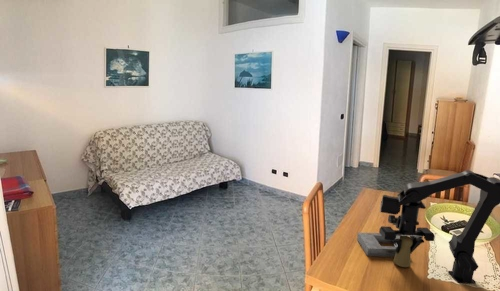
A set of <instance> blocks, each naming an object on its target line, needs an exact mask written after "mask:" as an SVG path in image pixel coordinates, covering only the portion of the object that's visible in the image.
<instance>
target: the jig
mask: <svg viewBox="0 0 500 291" xmlns="http://www.w3.org/2000/svg"><path fill="white" fill-rule="evenodd" d="M356 236H357V237H356V240H357V242H358V244H359V245H360V247H361V248H362V250H363V252H364V253H365V255H366V256H367V257H385V258H386V257H387V258H394V257H395V254H396V249H395V245H394V241H393V240H386V239H384V238H383V236H382V235H381V234H380V233H377V232H357V235H356ZM380 243H381V244H392V245H393V246H389V245H387V246H386V245H385V246H384V245H381V244H380Z"/></svg>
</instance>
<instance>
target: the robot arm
mask: <svg viewBox="0 0 500 291" xmlns="http://www.w3.org/2000/svg"><path fill="white" fill-rule="evenodd" d="M467 185H471V186H474V187H475V188H477V189H479V191H480V192H479V201H478V202H477V204H476V206H475V208H474V209H473V211H472V213H471V215H470V216H469V218H468V221H467V222H466V225H465V226H464V228H463V230H462V232H460V234H458V235H457V234H455V233H453V234H452V236H451V239H450V240H449V241H448V244H449V246H448V247H449V250H450V252H451V254H452V256H453V258H454V261H453V264H452V270H448V271H447V273H448V274H449V275H450V276H451V278H453V280H455V281H456V282H457V283H459V284H476V283H477V282H476V280H475V279H474V278H473V277H474V273H475V272H476V271H477V269H478V268H479V265H478V263H477V261H476V260H475V258H474V254H475V244H476V240H477V239H478V237H479V235H480V234H481V231H482V230H483V229H484V227H485V225H486V223H487V221H488V219H489V217H490V216H491V214H492V212H493V211H494V209H495V208H496V207H497V206H499V205H500V178H498V177H487V176H486V175H483V174H479V173H476V172H474V171H472V170H470V169H467V170H466V169H465V170H464V171H462V172H458V173H454V174H451V175H448V176H443V177H441V178H436V179H433V180H430V181H415V182H414V181H413V182H408V183H406V184H405V185H404V187H403V190H401V191H400V192H399V193H398V194H397V195H396V196H392V195H387V194H382V198H381V200H380V207H379V208H380V209H379V212H380V213H383V214H388V218H387V222H388V223H389V224H392V226H395V228H396V229H398V230H396V229H394V228H392V227H391V226H381V227H380V228H379V231H378V232H379V233H380V234H381V235H382V236H383V238H384V239H386V240H393V241H394V245H395V246H394V245H393V246H394V247H395V249H396V253H397V254H398V253H399V251H400V247H401V243H402V241H401V239H400V236H408V237H410V238H411V239H412V240H413V244H412V246H411V247H410V255H411V254H412V253H413V252H414V251H415V250H416V249H417V248H418V247H419V246H420V245H422V244H423V243H425V241H426V242H434V241H435V238H436V237H435V233H433V232H432V231H431V230H430V229H429V228H428V227H417V226H419V225H420V222H419V221H418V218H419V211H420V209H422V210H423V209H426V208H427V207H426V205H425V203H424V202H423V200H425V199H427V198H429V197H430V196H432V195H434V194H437V193H441V192H444V191H448V190H452V189H456V188H460V187H463V186H467ZM398 214H399V215H398ZM396 215H398V216H396Z"/></svg>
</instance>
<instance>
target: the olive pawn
mask: <svg viewBox="0 0 500 291" xmlns="http://www.w3.org/2000/svg"><path fill="white" fill-rule="evenodd" d="M400 239H401V241H402V243H401V247H400V251H399V253H398V254H397V253H396V254H395V257H393V258H394V259H393V263H394V264H395V265H396V266H399V267H401V268H409V267H411V254H410V247H411V246H412V244H413V240H412V239H411V238H410V236H400Z"/></svg>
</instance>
